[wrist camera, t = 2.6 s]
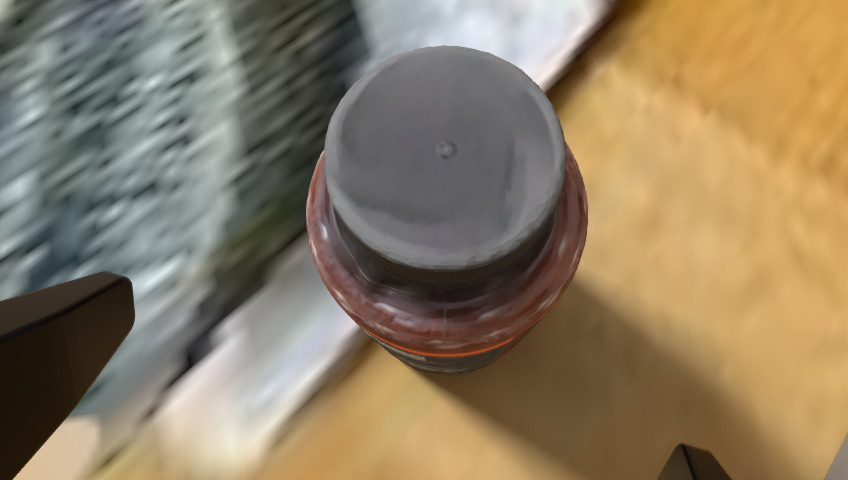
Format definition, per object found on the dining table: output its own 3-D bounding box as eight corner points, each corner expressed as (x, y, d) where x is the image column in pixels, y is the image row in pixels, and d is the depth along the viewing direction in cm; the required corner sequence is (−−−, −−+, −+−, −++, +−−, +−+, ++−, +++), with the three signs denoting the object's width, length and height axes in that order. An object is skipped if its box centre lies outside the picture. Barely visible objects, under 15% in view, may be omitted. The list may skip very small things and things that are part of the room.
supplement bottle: (515, 194, 21) (591, -34, 10) (550, 360, 19) (686, 301, 9) (350, 220, 21) (250, 19, 10) (372, 389, 19) (280, 366, 8)
